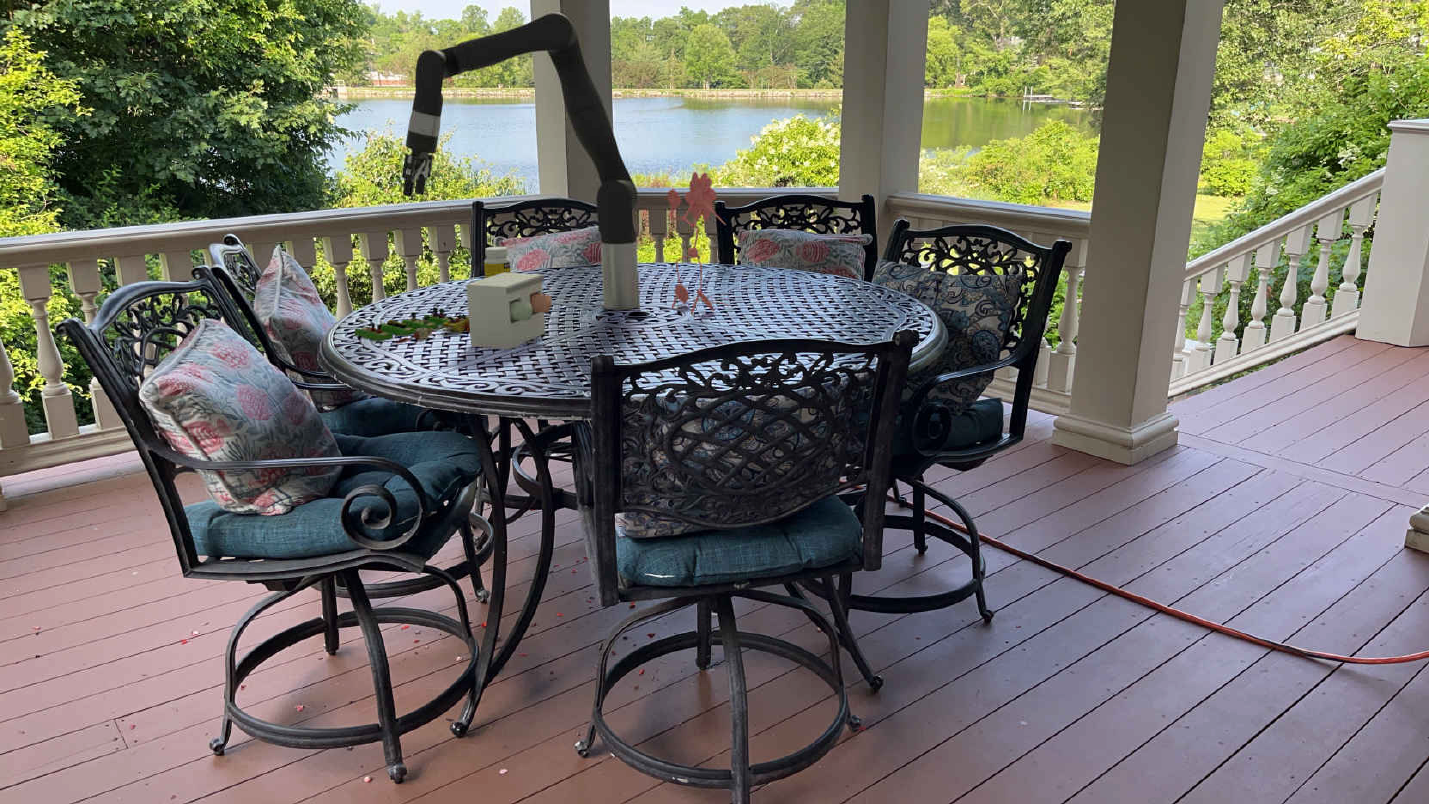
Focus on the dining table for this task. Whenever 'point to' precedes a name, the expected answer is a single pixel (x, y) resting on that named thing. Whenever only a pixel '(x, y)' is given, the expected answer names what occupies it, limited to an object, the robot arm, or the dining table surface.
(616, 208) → the robot arm
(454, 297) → the dining table surface
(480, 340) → the console
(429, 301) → the dining table surface
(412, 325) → the toy garden set
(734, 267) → the dining table surface
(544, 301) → the terracotta button
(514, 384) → the dining table surface
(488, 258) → the supplement bottle
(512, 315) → the green button
